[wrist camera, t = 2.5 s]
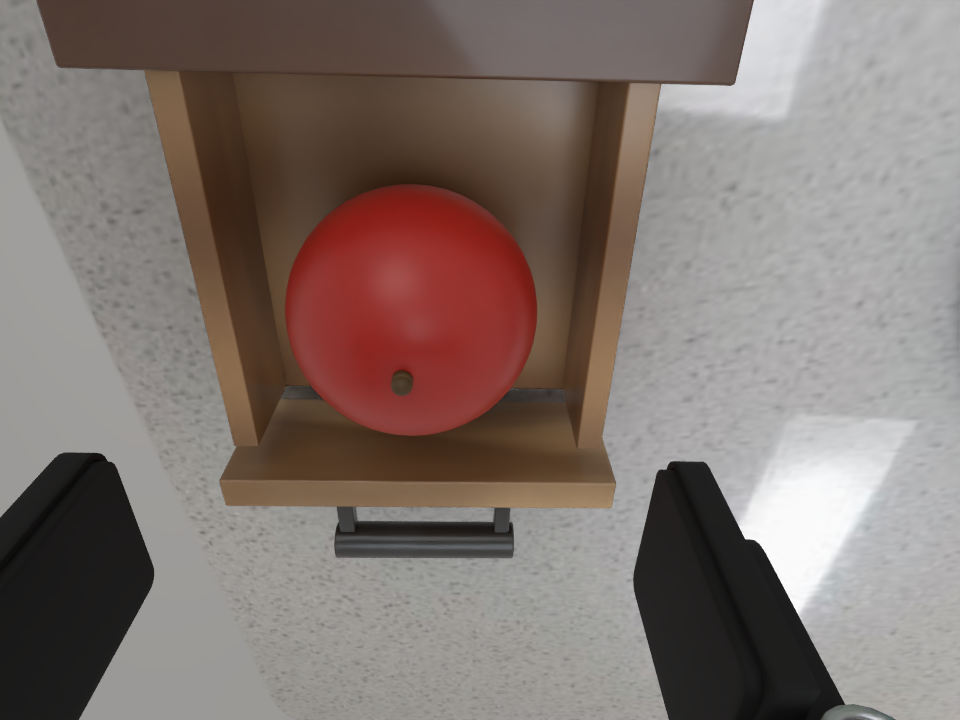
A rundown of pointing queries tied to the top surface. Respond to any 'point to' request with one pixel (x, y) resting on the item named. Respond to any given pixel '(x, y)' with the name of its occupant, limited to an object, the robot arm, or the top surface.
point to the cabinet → (409, 38)
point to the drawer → (426, 161)
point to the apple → (411, 309)
